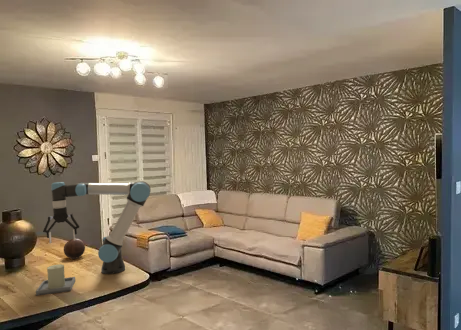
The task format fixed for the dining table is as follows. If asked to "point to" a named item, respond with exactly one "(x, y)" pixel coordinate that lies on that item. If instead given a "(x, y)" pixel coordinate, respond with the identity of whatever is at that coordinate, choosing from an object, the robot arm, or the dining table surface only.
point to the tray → (44, 288)
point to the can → (56, 276)
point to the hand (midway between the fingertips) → (62, 241)
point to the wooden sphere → (74, 248)
